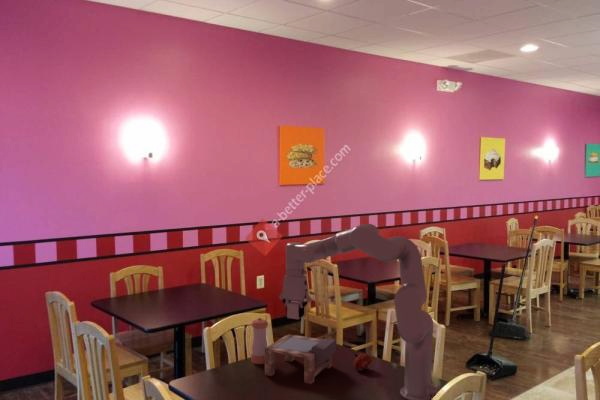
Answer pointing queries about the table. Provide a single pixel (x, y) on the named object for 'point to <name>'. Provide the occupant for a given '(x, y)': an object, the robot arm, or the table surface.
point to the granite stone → (293, 310)
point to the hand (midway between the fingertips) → (295, 315)
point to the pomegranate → (362, 361)
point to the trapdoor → (311, 347)
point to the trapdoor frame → (309, 367)
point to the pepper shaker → (259, 341)
